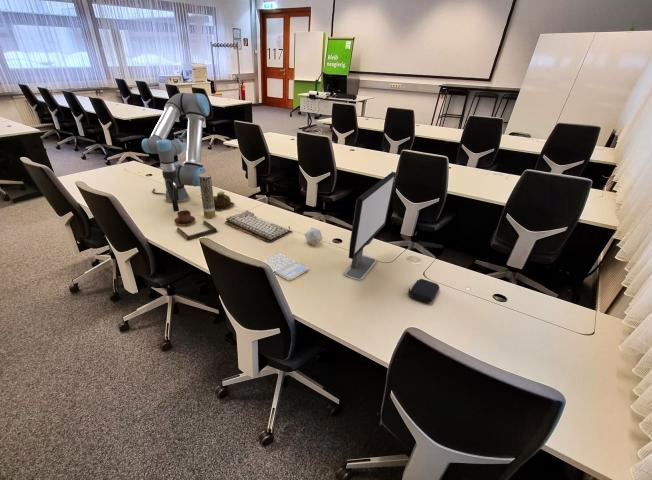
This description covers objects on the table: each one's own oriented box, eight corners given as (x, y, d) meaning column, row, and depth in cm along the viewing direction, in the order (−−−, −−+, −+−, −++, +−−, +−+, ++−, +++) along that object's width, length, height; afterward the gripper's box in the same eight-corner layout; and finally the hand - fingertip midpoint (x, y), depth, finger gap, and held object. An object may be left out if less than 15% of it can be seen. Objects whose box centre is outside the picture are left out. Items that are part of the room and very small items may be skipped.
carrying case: (415, 281, 149) (404, 296, 139) (416, 275, 147) (406, 290, 137) (439, 289, 144) (430, 306, 134) (441, 283, 142) (432, 300, 132)
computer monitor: (352, 290, 142) (368, 200, 118) (334, 284, 145) (346, 195, 121) (383, 252, 170) (401, 173, 146) (368, 248, 173) (383, 169, 149)
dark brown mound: (219, 199, 224) (217, 185, 218) (239, 204, 218) (238, 189, 213) (203, 208, 211) (201, 193, 205) (224, 213, 206) (222, 197, 200)
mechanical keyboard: (292, 231, 187) (292, 226, 185) (269, 243, 175) (269, 237, 173) (245, 214, 206) (245, 208, 204) (222, 223, 194) (221, 218, 192)
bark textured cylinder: (216, 214, 204) (212, 173, 189) (213, 218, 198) (208, 176, 184) (206, 213, 204) (200, 172, 189) (202, 218, 199) (197, 176, 184)
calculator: (278, 255, 165) (278, 252, 164) (308, 270, 154) (309, 267, 153) (259, 265, 157) (258, 261, 156) (289, 281, 146) (289, 278, 145)
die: (324, 244, 177) (320, 226, 177) (321, 243, 168) (317, 224, 168) (309, 248, 179) (305, 230, 179) (306, 247, 171) (301, 228, 170)
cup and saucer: (190, 228, 188) (188, 217, 184) (171, 225, 189) (169, 215, 186) (199, 219, 197) (197, 209, 193) (180, 217, 199) (178, 207, 195)
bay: (177, 231, 184) (176, 228, 183) (205, 223, 193) (204, 220, 192) (188, 240, 175) (187, 237, 174) (216, 232, 184) (216, 228, 183)
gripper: (157, 168, 186) (165, 209, 199) (167, 174, 177) (174, 215, 191) (170, 166, 189) (177, 206, 203) (180, 172, 181) (186, 213, 195)
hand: (176, 210), depth 197 cm, fingers closed
